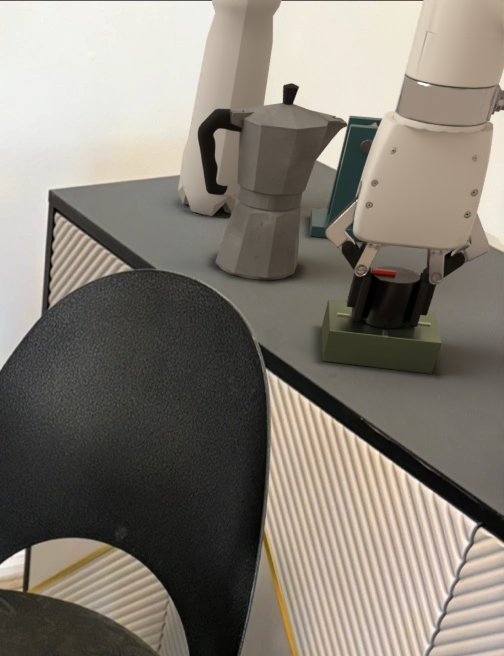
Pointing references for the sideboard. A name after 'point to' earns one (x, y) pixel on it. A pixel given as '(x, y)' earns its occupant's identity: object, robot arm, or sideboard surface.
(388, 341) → the panel
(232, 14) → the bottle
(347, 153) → the teal lever mount
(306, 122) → the coffeepot
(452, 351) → the sideboard surface
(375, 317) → the knob
